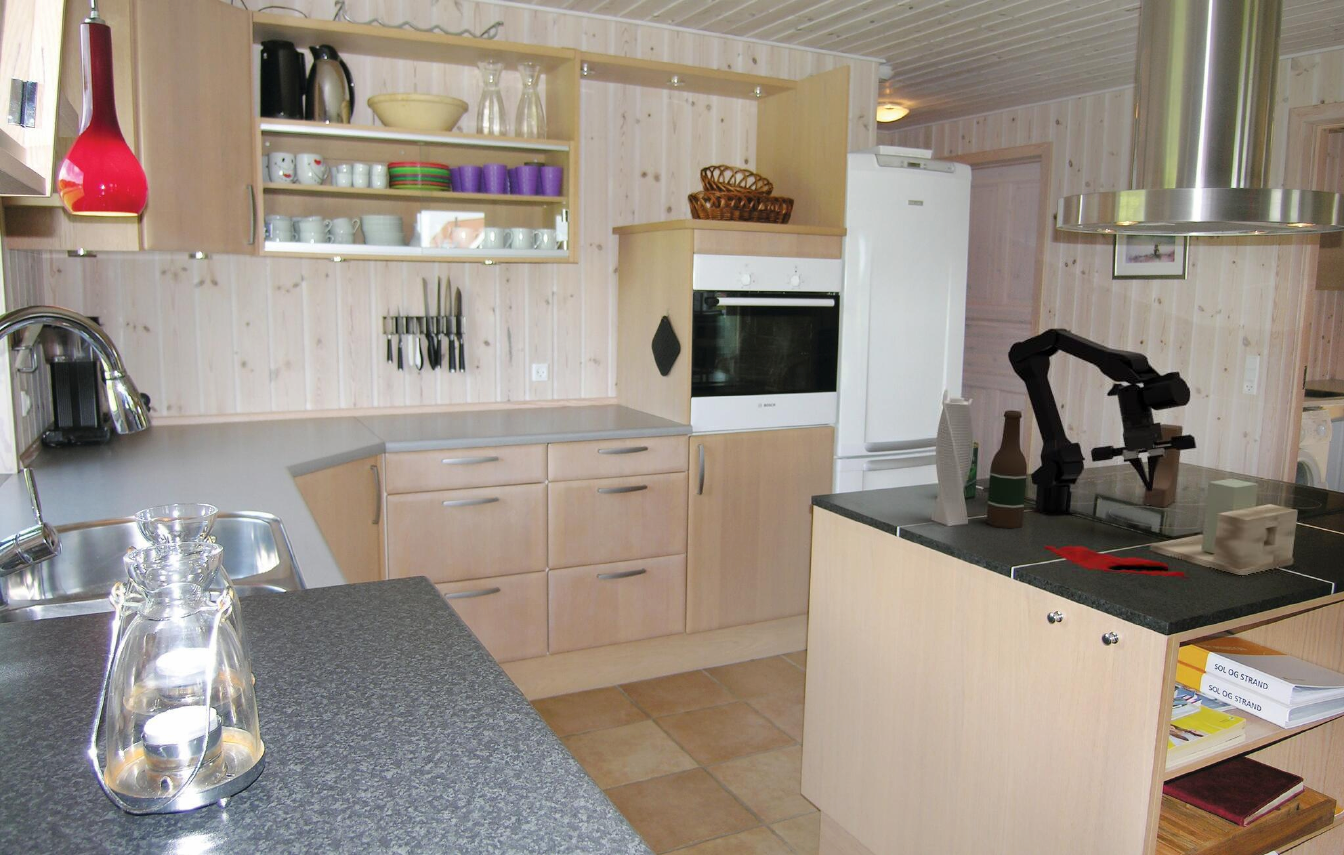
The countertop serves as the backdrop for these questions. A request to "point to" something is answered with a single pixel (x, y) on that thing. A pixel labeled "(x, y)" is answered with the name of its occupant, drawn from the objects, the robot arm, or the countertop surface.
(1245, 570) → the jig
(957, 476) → the skyscraper
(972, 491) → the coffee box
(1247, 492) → the block
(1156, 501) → the wooden block
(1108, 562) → the cloth
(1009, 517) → the beer bottle
